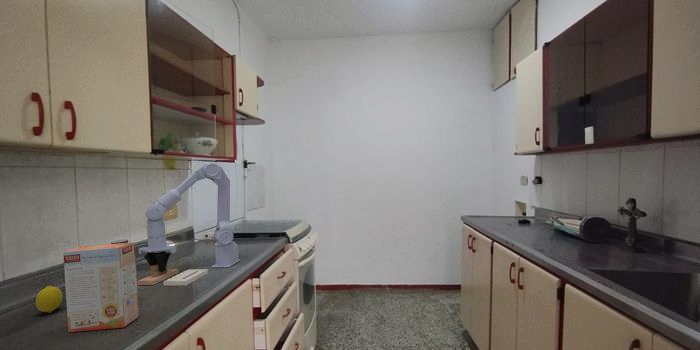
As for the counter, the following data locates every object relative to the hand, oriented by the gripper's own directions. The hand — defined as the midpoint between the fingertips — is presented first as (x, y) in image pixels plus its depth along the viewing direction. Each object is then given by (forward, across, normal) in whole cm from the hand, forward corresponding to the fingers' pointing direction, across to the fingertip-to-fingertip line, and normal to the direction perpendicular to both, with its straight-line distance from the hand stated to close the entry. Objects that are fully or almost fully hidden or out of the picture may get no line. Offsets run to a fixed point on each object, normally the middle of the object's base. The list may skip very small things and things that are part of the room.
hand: (158, 271), depth 108 cm
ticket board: (+3, +12, 0) cm, 12 cm away
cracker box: (+3, +13, -32) cm, 34 cm away
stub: (+3, 0, 0) cm, 3 cm away
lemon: (+3, -13, -26) cm, 29 cm away
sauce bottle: (+3, +7, -21) cm, 22 cm away
